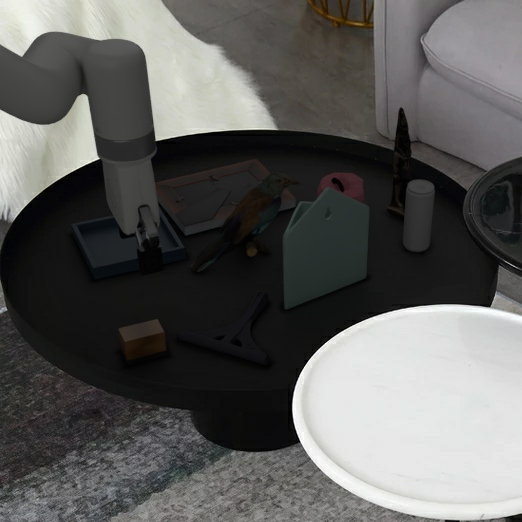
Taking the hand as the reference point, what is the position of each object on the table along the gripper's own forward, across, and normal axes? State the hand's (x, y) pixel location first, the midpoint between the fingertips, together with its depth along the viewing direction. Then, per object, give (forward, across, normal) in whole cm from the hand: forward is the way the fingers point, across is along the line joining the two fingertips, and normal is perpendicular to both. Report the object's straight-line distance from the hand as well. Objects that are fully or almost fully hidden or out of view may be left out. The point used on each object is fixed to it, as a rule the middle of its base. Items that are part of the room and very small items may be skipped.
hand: (141, 253), depth 138 cm
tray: (+18, -30, +4) cm, 36 cm away
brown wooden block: (+18, -1, -1) cm, 18 cm away
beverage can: (+19, -11, +51) cm, 55 cm away
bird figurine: (+19, -20, +23) cm, 36 cm away
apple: (+19, -23, +42) cm, 51 cm away
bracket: (+19, -1, +15) cm, 24 cm away
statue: (+19, -21, +54) cm, 61 cm away
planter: (+19, -8, +30) cm, 36 cm away
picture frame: (+19, -38, +24) cm, 49 cm away
